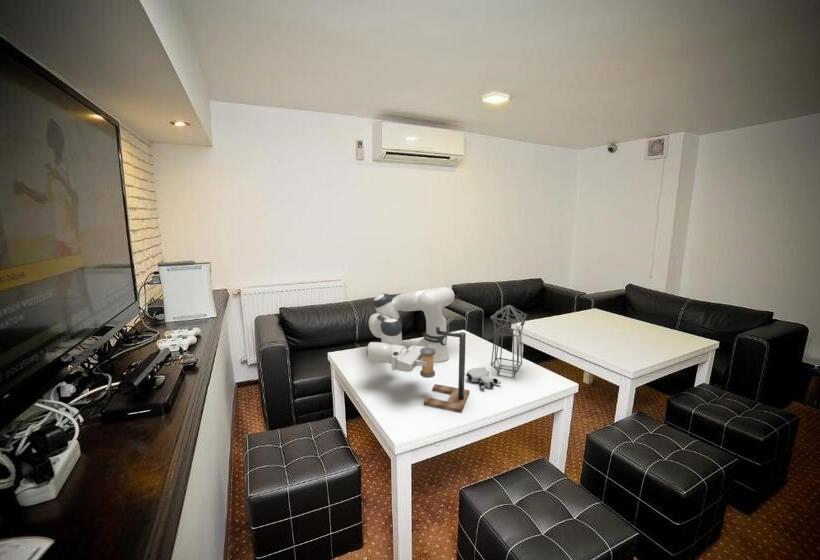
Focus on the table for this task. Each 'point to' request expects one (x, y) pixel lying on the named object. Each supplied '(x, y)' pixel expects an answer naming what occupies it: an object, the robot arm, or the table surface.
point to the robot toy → (481, 377)
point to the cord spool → (428, 356)
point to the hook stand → (461, 358)
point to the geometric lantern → (508, 335)
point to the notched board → (452, 402)
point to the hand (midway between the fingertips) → (429, 360)
